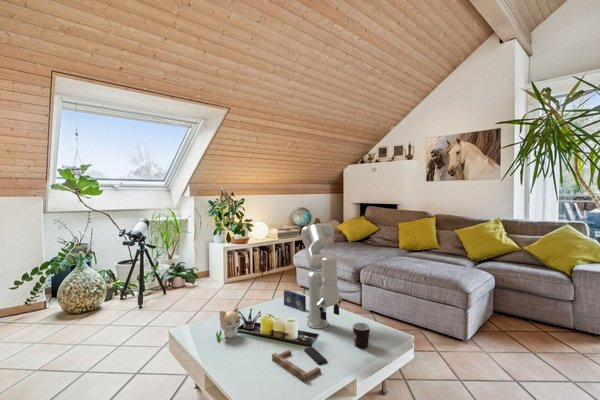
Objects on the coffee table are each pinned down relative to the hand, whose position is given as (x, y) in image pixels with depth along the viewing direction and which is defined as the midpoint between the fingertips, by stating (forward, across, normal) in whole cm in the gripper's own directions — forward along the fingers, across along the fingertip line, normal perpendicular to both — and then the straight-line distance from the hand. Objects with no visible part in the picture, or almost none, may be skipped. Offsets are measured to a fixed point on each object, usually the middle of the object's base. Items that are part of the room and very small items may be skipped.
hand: (330, 316), depth 153 cm
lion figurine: (+16, +6, -36) cm, 39 cm away
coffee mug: (+17, -16, +7) cm, 24 cm away
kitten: (+16, +28, -49) cm, 58 cm away
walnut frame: (+17, +20, -3) cm, 27 cm away
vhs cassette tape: (+14, -25, -54) cm, 61 cm away
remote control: (+18, +9, -2) cm, 20 cm away
